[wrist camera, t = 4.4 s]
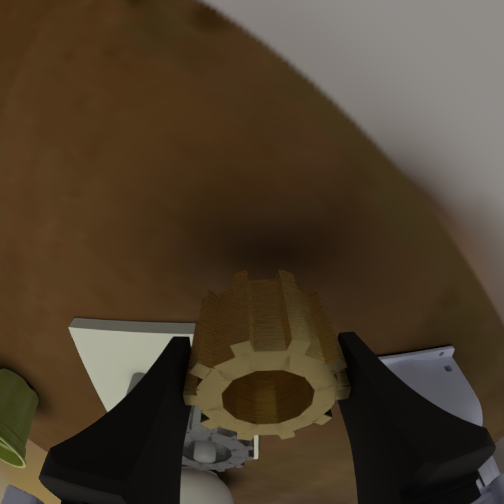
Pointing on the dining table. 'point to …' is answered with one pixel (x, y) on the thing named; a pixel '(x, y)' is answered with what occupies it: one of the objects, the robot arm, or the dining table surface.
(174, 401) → the robot arm
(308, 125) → the dining table surface
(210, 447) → the gear board
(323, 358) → the brass gear
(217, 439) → the gear
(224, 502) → the lidded jar
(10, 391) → the plant pot
